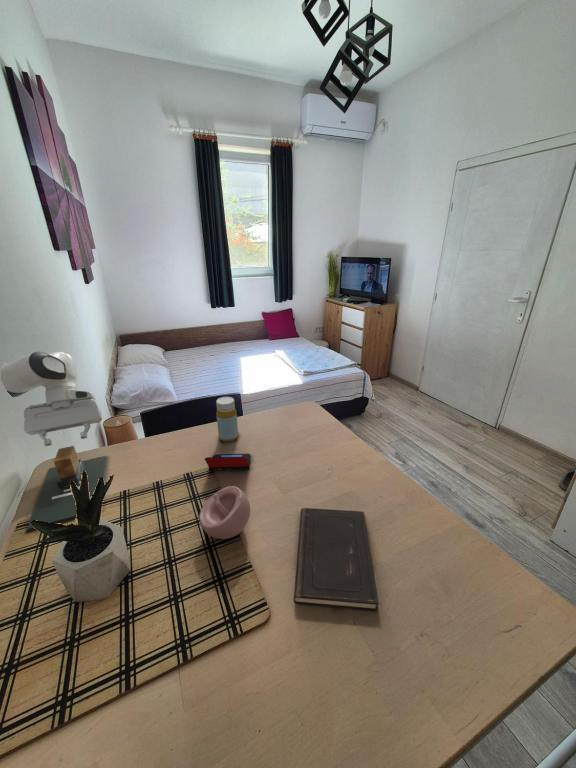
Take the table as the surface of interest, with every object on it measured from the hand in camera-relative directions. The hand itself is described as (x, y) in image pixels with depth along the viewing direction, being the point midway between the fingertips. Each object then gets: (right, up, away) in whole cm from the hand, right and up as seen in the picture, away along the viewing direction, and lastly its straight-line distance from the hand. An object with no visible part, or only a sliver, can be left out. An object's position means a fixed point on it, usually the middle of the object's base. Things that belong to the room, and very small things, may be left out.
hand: (66, 441), depth 99 cm
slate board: (+6, -13, -6) cm, 15 cm away
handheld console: (+50, -9, +3) cm, 50 cm away
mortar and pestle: (+53, -18, -20) cm, 59 cm away
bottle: (+46, -2, +19) cm, 50 cm away
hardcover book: (+78, -21, -26) cm, 85 cm away
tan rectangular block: (+2, -10, -1) cm, 10 cm away
